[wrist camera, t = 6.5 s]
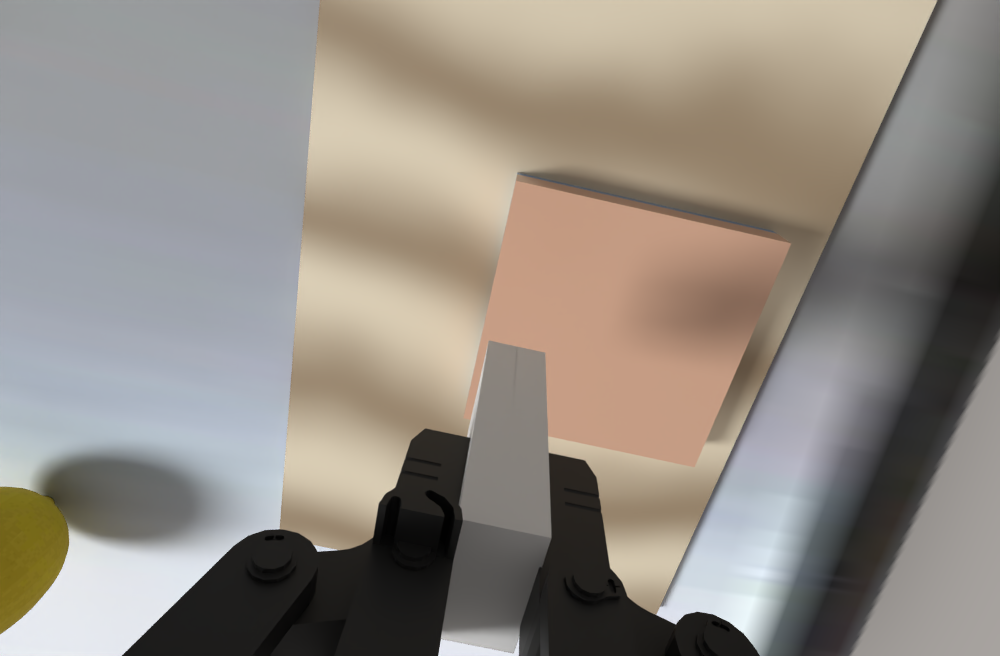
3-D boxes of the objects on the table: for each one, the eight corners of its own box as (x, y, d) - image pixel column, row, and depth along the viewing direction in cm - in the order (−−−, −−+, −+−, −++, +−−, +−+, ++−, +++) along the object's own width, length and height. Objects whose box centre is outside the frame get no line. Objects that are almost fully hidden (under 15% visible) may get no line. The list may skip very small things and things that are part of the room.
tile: (515, 180, 18) (791, 243, 19) (517, 172, 20) (773, 230, 20) (463, 418, 22) (694, 467, 22) (467, 396, 24) (684, 442, 24)
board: (342, -233, 16) (338, -240, 16) (964, -77, 17) (973, -80, 16) (282, 531, 28) (279, 537, 27) (654, 607, 28) (656, 614, 28)
